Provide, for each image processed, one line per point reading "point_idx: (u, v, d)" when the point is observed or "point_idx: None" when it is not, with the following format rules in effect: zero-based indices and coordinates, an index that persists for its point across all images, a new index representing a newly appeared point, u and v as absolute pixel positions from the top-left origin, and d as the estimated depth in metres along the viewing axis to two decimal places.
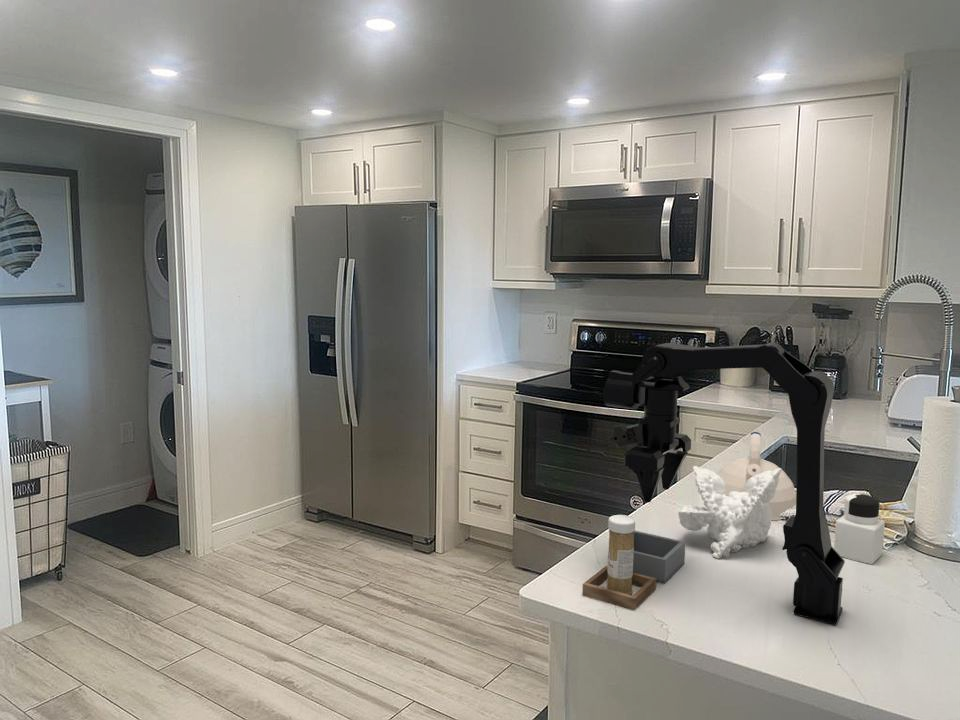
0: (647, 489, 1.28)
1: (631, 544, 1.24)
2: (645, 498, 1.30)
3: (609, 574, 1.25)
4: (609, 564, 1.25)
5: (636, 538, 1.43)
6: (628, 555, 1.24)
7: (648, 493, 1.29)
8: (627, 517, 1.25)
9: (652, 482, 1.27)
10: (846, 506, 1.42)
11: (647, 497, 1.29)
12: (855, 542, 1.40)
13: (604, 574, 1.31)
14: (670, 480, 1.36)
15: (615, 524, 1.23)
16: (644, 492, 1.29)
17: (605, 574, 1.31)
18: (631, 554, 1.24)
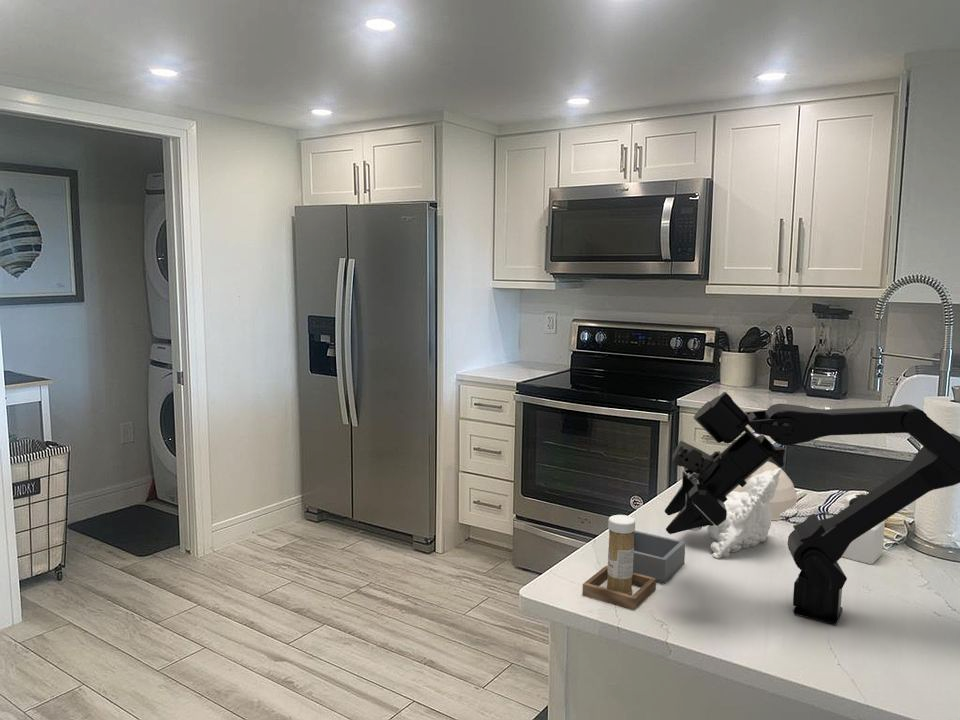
0: (680, 525, 1.17)
1: (631, 544, 1.24)
2: (669, 528, 1.19)
3: (609, 574, 1.25)
4: (609, 564, 1.25)
5: (636, 538, 1.43)
6: (628, 555, 1.24)
7: (677, 528, 1.18)
8: (627, 517, 1.25)
9: (693, 524, 1.16)
10: (846, 506, 1.42)
11: (673, 529, 1.18)
12: (855, 542, 1.40)
13: (604, 574, 1.31)
14: (677, 510, 1.27)
15: (615, 524, 1.23)
16: (674, 524, 1.18)
17: (605, 574, 1.31)
18: (631, 554, 1.24)
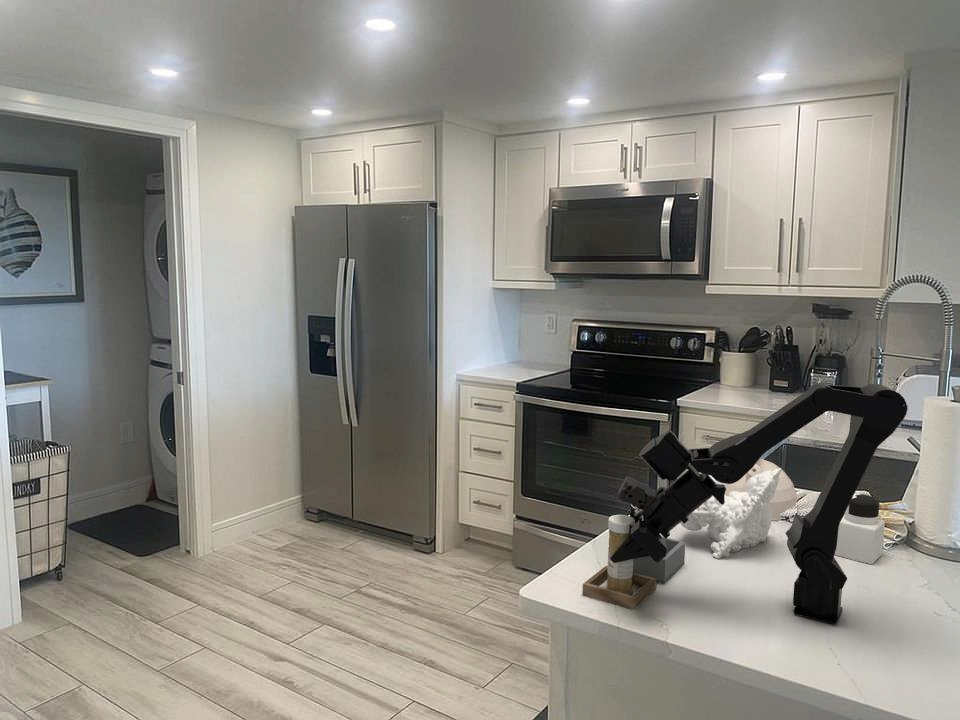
0: (624, 554, 1.22)
1: None
2: (613, 557, 1.23)
3: (609, 574, 1.25)
4: (609, 564, 1.25)
5: None
6: None
7: (621, 557, 1.23)
8: (627, 517, 1.25)
9: (635, 554, 1.21)
10: None
11: (617, 559, 1.23)
12: (855, 542, 1.40)
13: (604, 574, 1.31)
14: None
15: (615, 524, 1.23)
16: (618, 553, 1.23)
17: (605, 574, 1.31)
18: None
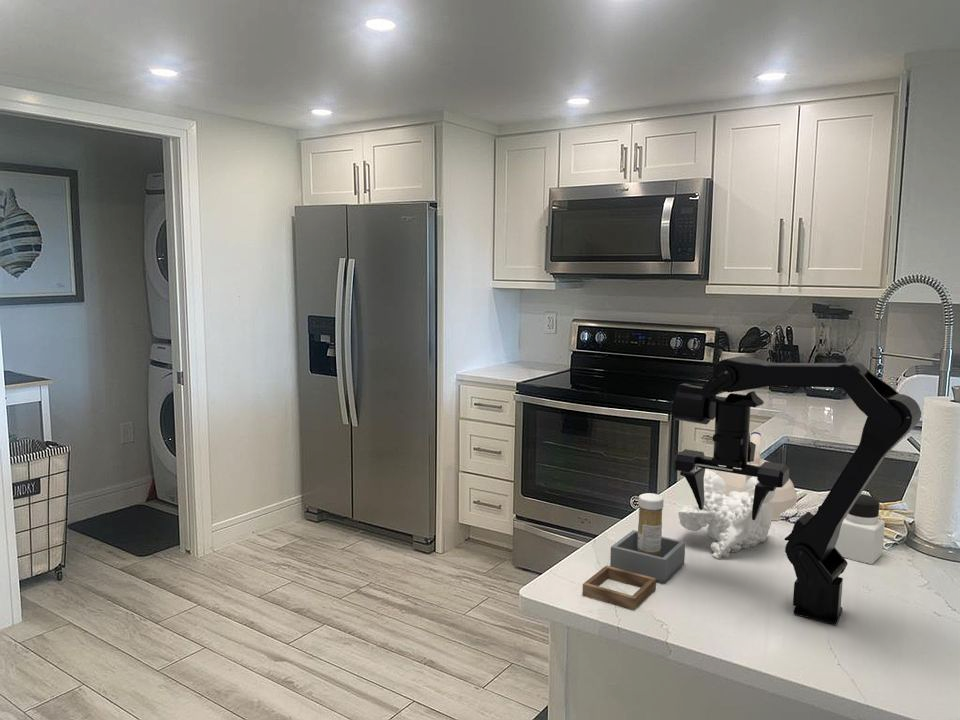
0: None
1: (656, 521, 1.34)
2: None
3: (637, 546, 1.37)
4: None
5: (636, 538, 1.43)
6: (652, 530, 1.34)
7: None
8: (657, 496, 1.35)
9: None
10: None
11: None
12: (855, 542, 1.40)
13: (604, 574, 1.31)
14: (752, 510, 1.25)
15: (641, 499, 1.34)
16: None
17: (605, 574, 1.31)
18: (656, 530, 1.34)
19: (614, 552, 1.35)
